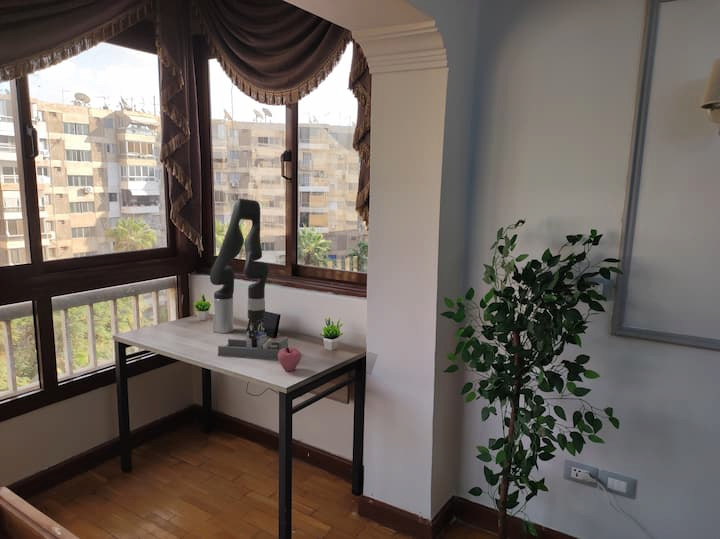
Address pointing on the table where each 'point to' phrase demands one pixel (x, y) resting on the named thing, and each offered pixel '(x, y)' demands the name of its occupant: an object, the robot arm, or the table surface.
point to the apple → (289, 358)
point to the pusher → (269, 345)
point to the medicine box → (260, 340)
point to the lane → (250, 349)
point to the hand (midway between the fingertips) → (256, 344)
